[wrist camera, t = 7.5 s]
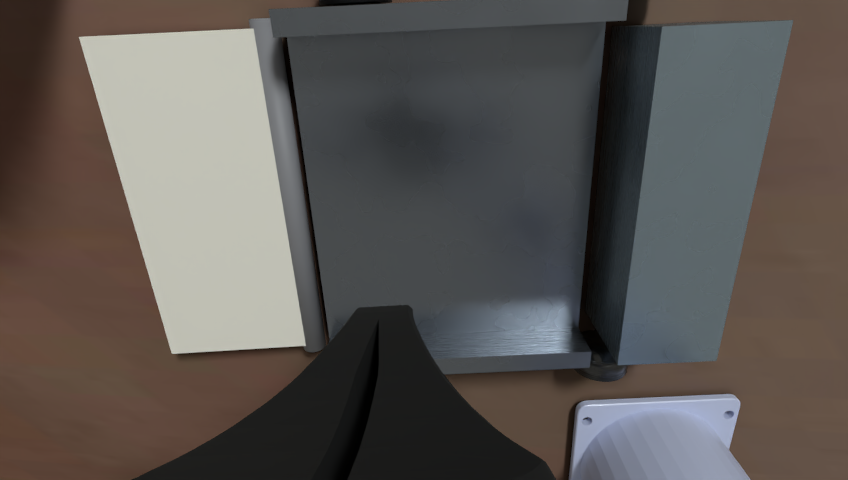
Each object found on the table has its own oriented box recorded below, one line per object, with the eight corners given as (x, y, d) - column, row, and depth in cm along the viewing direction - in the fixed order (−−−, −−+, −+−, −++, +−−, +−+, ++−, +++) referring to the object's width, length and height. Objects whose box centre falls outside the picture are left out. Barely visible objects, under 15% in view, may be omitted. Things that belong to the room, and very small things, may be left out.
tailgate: (324, 351, 22) (172, 360, 22) (327, 336, 23) (183, 345, 23) (274, 17, 17) (74, 27, 17) (282, 18, 18) (93, 27, 18)
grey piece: (664, 345, 24) (710, 403, 20) (337, 360, 24) (323, 421, 20) (732, -46, 17) (817, -64, 14) (285, -23, 17) (250, -36, 14)
